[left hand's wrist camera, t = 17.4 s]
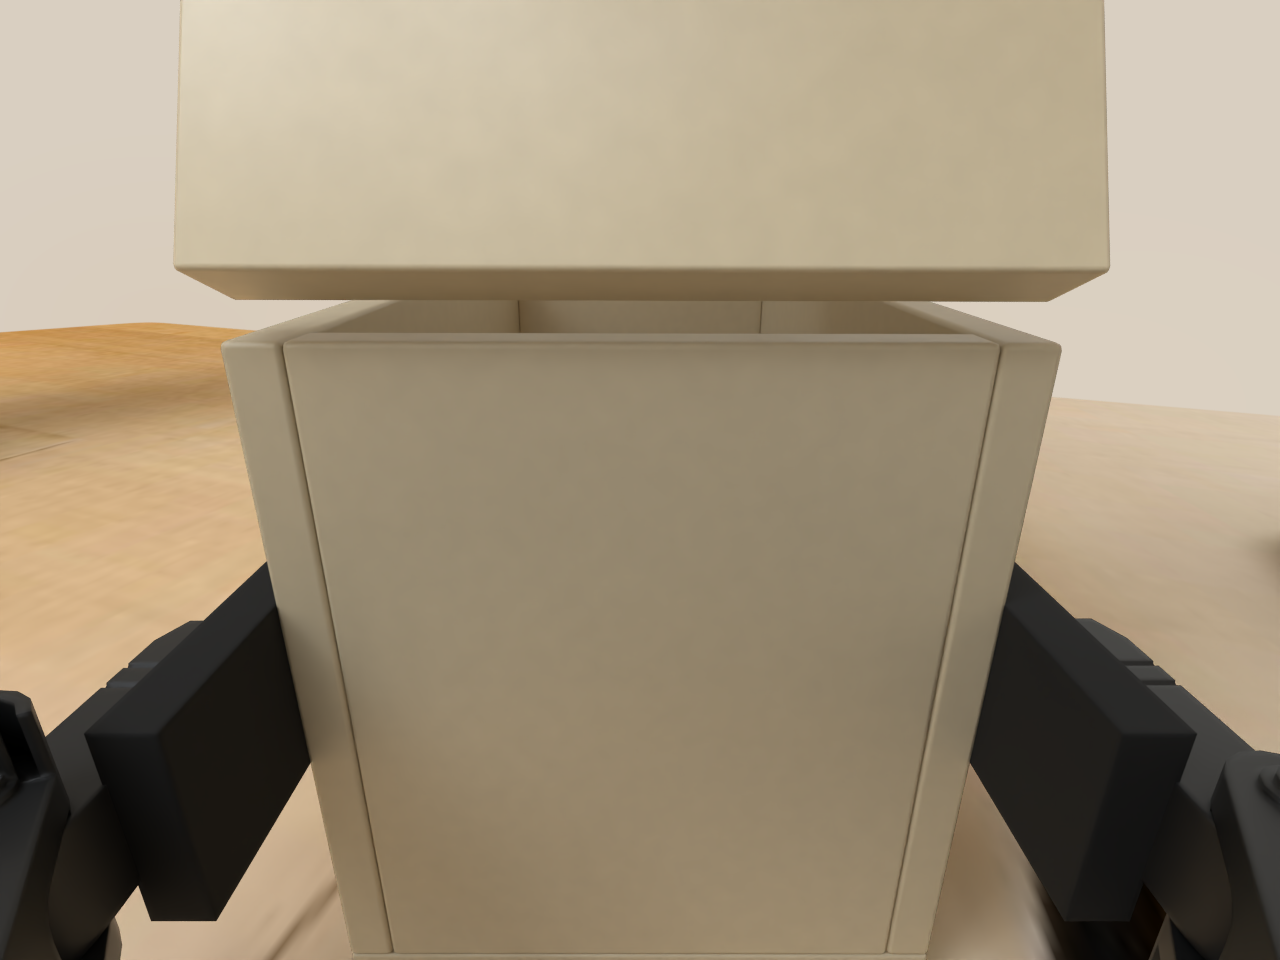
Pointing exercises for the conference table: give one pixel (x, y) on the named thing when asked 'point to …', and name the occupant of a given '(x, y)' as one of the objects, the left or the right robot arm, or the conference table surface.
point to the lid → (642, 149)
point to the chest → (640, 611)
